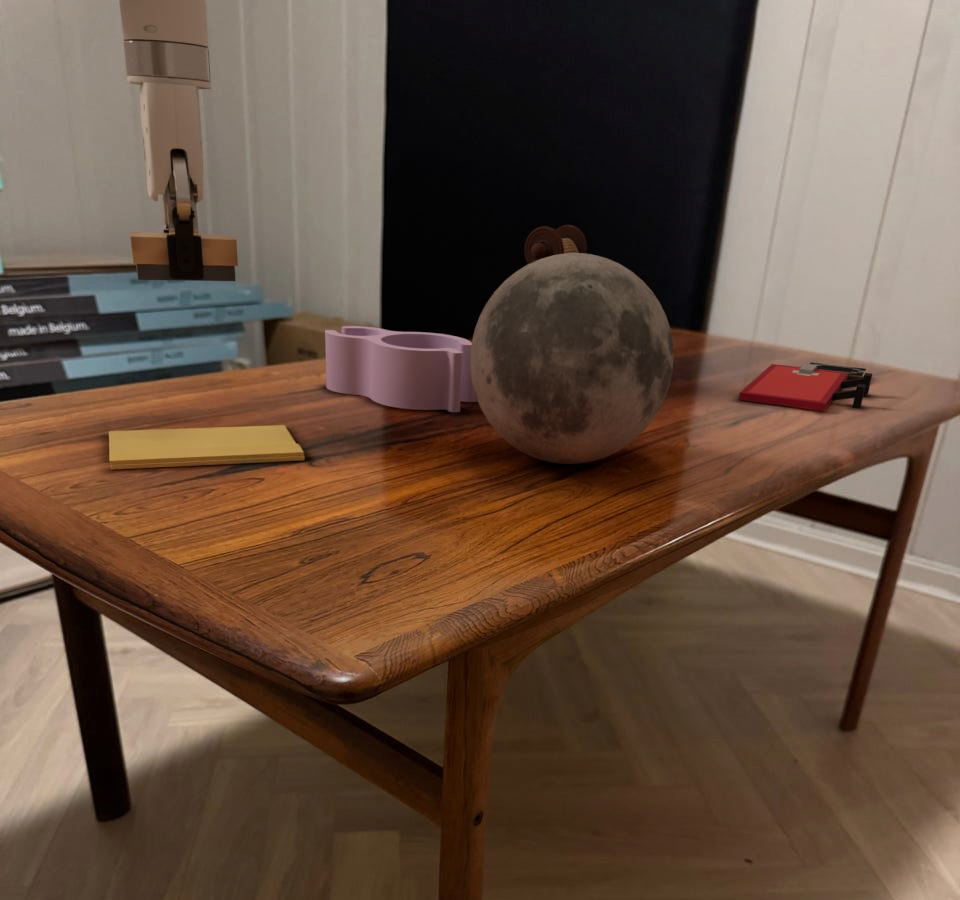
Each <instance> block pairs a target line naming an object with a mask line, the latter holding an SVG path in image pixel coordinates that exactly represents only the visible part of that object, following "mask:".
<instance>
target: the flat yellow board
mask: <svg viewBox="0 0 960 900" xmlns="http://www.w3.org/2000/svg"><path fill="white" fill-rule="evenodd" d="M108 449H109V451H108V454H109V456H108V457H109V468H110V470H113V471H114V470H133V469H152V468H173V467H175V468H176V467H194V466H195V467H196V466H214V465H216V466H217V465H235V464H237V465H239V464H257V463H259V464H260V463H280V462H296V461H297V462H300V461H301V462H302V461H305V458H306V457H305V451H304V450H303V449H302V447H301V445H300V444H299V443H296V440H295V439H294V437H293V436H292V434H291V432H290V431H289V430H288V428H287V426H286V425H285V424H278V425H277V424H276V425H249V426H247V425H246V426H221V427H194V428H193V427H191V428H188V427H187V428H165V429H164V428H162V429H136V430H135V429H134V430H109V431H108Z"/></svg>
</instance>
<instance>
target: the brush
mask: <svg viewBox="0 0 960 900" xmlns="http://www.w3.org/2000/svg"><path fill="white" fill-rule="evenodd" d="M167 235H169V233H164V232H150V231H129V241H130V250H131V259H132V264H133V265H135V267H136V276H137V280H139V281H183V282H184V281H186V282H187V281H190V282H192V281H193V282H236V267H238V266H239V261H238V259H239V258H238V244H237V239H236V238H235V237H234V236H233V235H232V234H221V233H220V234H219V233H217V234H216V233H199V236H201V244H202V257H203V271H204V277H203V279H201V280H188V279H172V278H171V276H170V268H169V257H168V246H167Z"/></svg>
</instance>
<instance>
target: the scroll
mask: <svg viewBox="0 0 960 900" xmlns="http://www.w3.org/2000/svg"><path fill="white" fill-rule="evenodd" d="M587 245H588V243H587V240H586V236H585V234H584V232H583V231H582V230H580V228H579V227H577V226H575V225H571V224H564V225H561V226H559V227H558V228H556V229H554V228H553V227H550V226H544V225H543V226H539V227H536V228H535V229H533V230H532V231H531V232H530V233H529V234H528V236H527V238H526V240H525V243H524V257H525V258H524V259H525V260H526V263H527V265H528V264H530V263H533V262H535V261H537V260H539V259H542V258H546V257H549V256H553V255H558V254H566V253H584V254H587V252H588V251H587V250H588V246H587Z"/></svg>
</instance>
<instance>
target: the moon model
mask: <svg viewBox="0 0 960 900" xmlns="http://www.w3.org/2000/svg"><path fill="white" fill-rule="evenodd" d="M671 330H672V329H671V326H670V323H669V321H668V318H667V314H666V312H665V310H664V309H663V306H662V305H661V302H660V300H658V298H657V296H656V295H655V293H654V292H653V290H652V289H650V287H649V286H648V285H647V284H646V282H645V281H643V280H642V279H641V277H639V276H638V275H636V274H635V272H633V271H632V270H630V269H629V268H627V267H625V266H624V265H622V264H620V263H619V262H617V261H614V260H612V259H609V258H607V257H605V256H604V257H603V256H600V255H595V254H592V253H586V254H584V253H566V254H558V255H553V256H549V257H546V258H542V259H539V260H537V261H535V262H533V263H530V264H528V263H527V264H526V265H525V266H522V267H521V268H520V269H518V270H517V271H515V272H514V273H513V274H511V275H510V276H509V277H508V278H506V279H505V280H504V281H503V282H502V284H500V285H499V287H498V288H496V290H495V291H494V292H493V294H492V295H491V296H490V298H489V299H488V300H487V302H486V303H485V305H484V307H483V309H482V311H481V313H480V314H479V317H478V320H477V322H476V325H475V327H474V331H473V336H472V340H471V343H472V345H471V354H470V371H471V377H472V384H473V388H474V391H475V395H476V398H477V400H478V402H477V403H478V405H479V408H480V410H481V412H482V413H483V415H484V417H485V418H486V420H487V421H488V423H489V425H491V427H492V428H493V429H494V431H496V433H497V434H498V435H499V436H500V437H501V438H503V440H505V441H506V442H507V444H509V445H510V446H512V447H514V448H515V449H516V450H518V451H519V452H521V453H523V454H525V455H527V456H530V457H532V458H534V459H537V460H540V461H544V462H548V463H552V464H559V465H577V464H586V463H591V462H595V461H598V460H601V459H604V458H607V457H610V456H611V455H613V454H615V453H618V452H619V451H621V450H623V449H624V448H625V447H627V446H630V445H631V443H633V442H634V441H635V440H637V439H638V437H640V436H641V435H642V434H643V433H644V432H645V430H646V429H647V428H648V427H649V426H650V425H651V423H652V422H653V421H654V419H655V418H656V416H657V415H658V414H659V412H660V409H661V408H662V406H663V404H664V401H665V400H666V397H667V395H668V391H669V389H670V385H671V381H672V375H673V371H674V357H675V355H674V341H673V335H672V331H671Z"/></svg>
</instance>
